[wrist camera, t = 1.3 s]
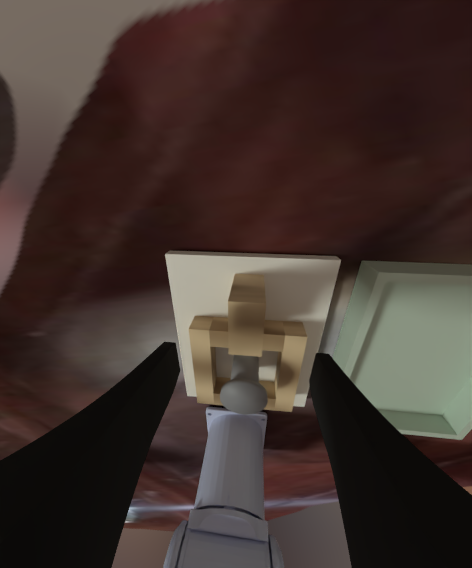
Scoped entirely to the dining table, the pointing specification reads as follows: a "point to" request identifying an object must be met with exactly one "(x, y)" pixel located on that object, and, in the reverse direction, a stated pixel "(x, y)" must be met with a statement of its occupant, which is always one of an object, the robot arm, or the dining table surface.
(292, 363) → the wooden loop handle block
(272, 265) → the board
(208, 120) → the dining table surface
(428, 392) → the tray
